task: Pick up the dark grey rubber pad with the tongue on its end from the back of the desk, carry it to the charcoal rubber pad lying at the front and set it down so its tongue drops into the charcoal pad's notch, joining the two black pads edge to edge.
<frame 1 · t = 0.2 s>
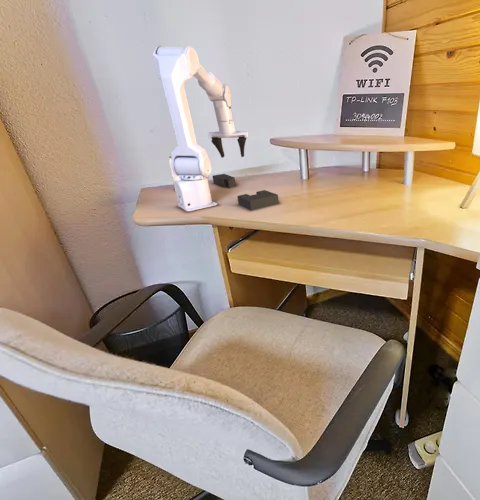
hand: (233, 156, 125), 10 cm above the table, tool pointing down, fingers open, 7 cm apart
notch pad: (258, 204, 103), on the table
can: (185, 189, 120), on the table
tab pad: (224, 183, 126), on the table
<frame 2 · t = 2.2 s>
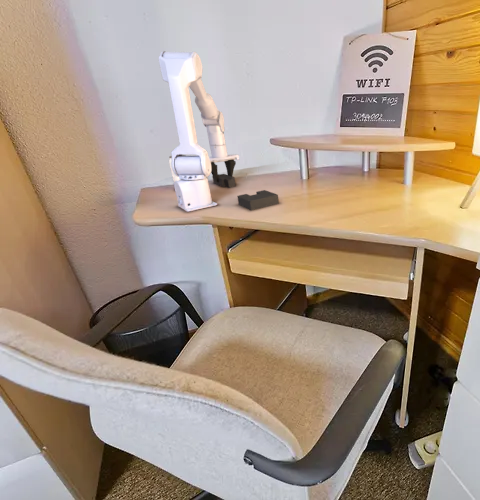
hand: (223, 180, 126), 1 cm above the table, tool pointing down, fingers closed on tab pad, 5 cm apart
tab pad: (224, 183, 126), on the table, touching gripper
everything else where it was.
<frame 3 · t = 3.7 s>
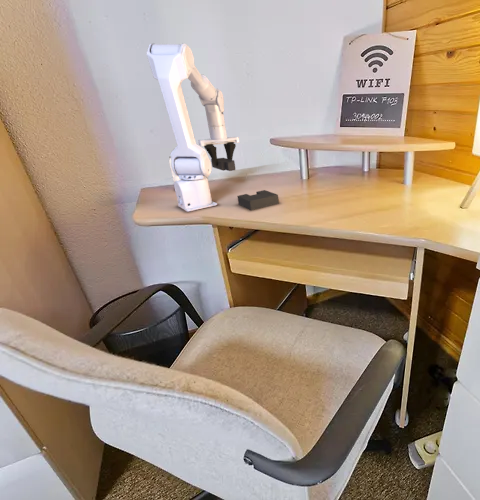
hand: (223, 164, 120), 8 cm above the table, tool pointing down, fingers closed on tab pad, 5 cm apart
tab pad: (223, 167, 121), point 7 cm above the table, touching gripper
everything else where it was.
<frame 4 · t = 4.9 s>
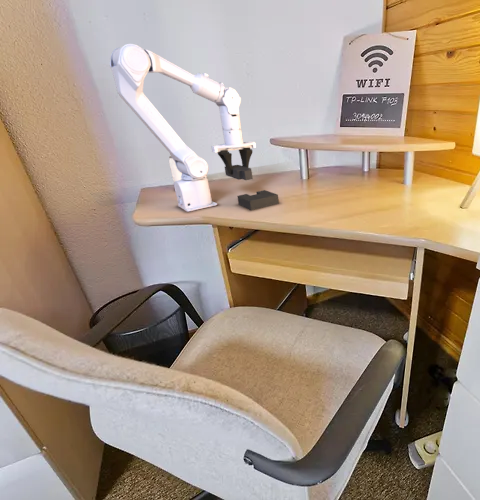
hand: (238, 172, 107), 8 cm above the table, tool pointing down, fingers closed on tab pad, 5 cm apart
tab pad: (239, 176, 108), point 7 cm above the table, touching gripper
everything else where it was.
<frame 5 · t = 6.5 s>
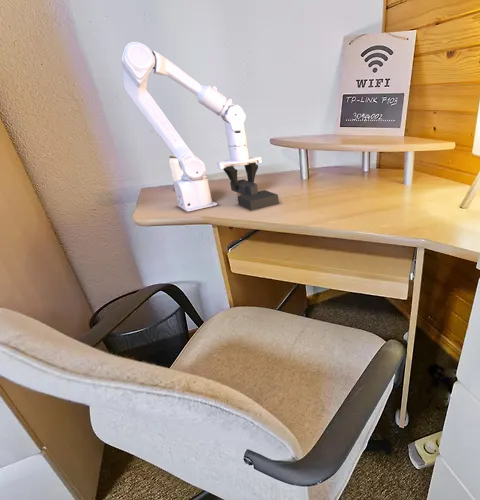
hand: (244, 187, 107), 4 cm above the table, tool pointing down, fingers closed on tab pad, 5 cm apart
tab pad: (244, 191, 107), point 3 cm above the table, touching gripper
everything else where it was.
when the fingers open (1 cm above the table, at t = 7.8 s): tab pad stays where it is, on the table.
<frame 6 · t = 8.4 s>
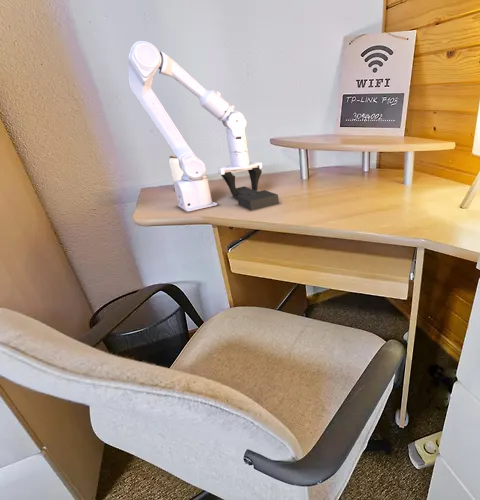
hand: (244, 192, 107), 2 cm above the table, tool pointing down, fingers open, 7 cm apart
tab pad: (245, 198, 108), on the table
everything else where it was.
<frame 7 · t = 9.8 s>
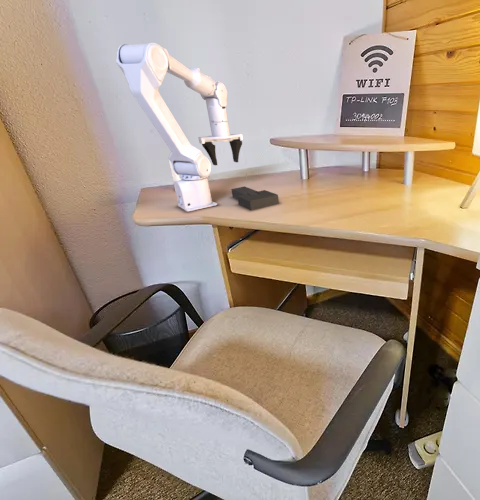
hand: (225, 163, 111), 10 cm above the table, tool pointing down, fingers open, 7 cm apart
nothing on the table moved.
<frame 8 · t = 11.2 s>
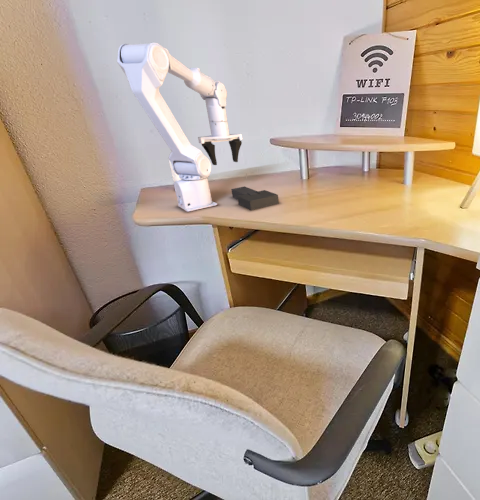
hand: (225, 163, 111), 10 cm above the table, tool pointing down, fingers open, 7 cm apart
nothing on the table moved.
at the end: tab pad 0.0 cm from the target spot on the table beside the notch pad, on the table; tab pad tilted 0°; the gripper is holding nothing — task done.
